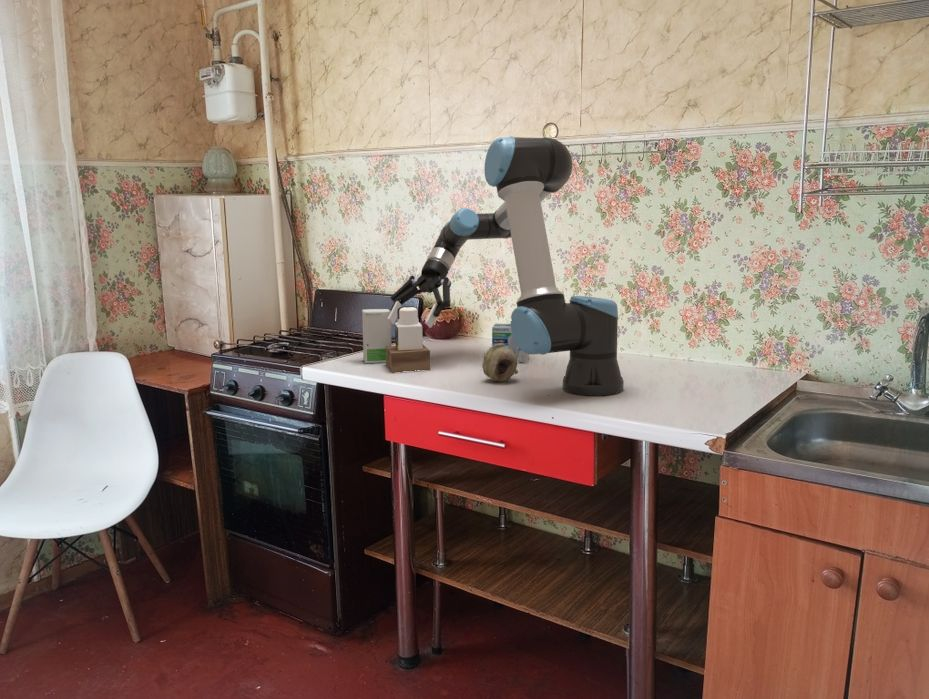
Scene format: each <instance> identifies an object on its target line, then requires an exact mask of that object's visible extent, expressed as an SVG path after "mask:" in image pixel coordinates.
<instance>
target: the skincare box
mask: <svg viewBox="0 0 929 699" xmlns="http://www.w3.org/2000/svg"><path fill="white" fill-rule="evenodd" d="M361 313H362V315H361V316H362V350H363V351H362V355H363V356H362V357H363V361H364V363H365V364H382V363H384V364H385V363H386V347H385V346H392V324H391V323H390V321H389V320H388V319H387V318H388V316H389V315H390V313H391V309H390V310H389V309H388V308H380V309H379V308H374V309H373V308H370V309H361Z"/></svg>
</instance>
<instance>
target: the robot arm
mask: <svg viewBox="0 0 929 699" xmlns="http://www.w3.org/2000/svg"><path fill="white" fill-rule="evenodd" d="M573 166H574V164H573V158H572V155H571V152H570V151H569V149H568V148H567V146H566V145H565V144H563V142H561V141H559V140H558V139H555V138H552V137H525V136H524V137H519V136H517V137H516V136H515V137H514V136H508V137H506V136H505V137H498V138H496V139H495V140H493V141H492V142H491V144H490V145H489V146H488V150H487V152H486V156H485V160H484V178H485V181H486V183H487V184H488V185H489V186H491V187H493V188H494V187H495V188H496V191H497V192H496V193H497V197H498V198H499V199H501V200H502V201H504V202H503V203H502V204H501V205H500V206H499V207H498V208H497V210H495V211H494V212H491V213H490V212H489V213H477V212H476V211H475V210H472V209H470V208H468V207H467V208H466V207H464V208H460V209H458V210H457V211H456V213H454V214H453V215H452V216H451V217H450V220H449V221H448V222H446V223H445V224H444V226H443V227H442V229H441V230H440V233H439V235H438V237H437V239H436V241H435V243H434V245H433V247H432V249H431V251H430V253H429V255H428V256H427V259H426V261H425V263H424V264H423V266H422V269H421V273H420V276H419V277H415V276H414V275H411V276H410V277H408V280H407V281H406V282H405V283H404V284H402V286H401V287H399V289H398V290H396V291H395V292H394V293H393V294H392V295H391V296H390V299H391V301H392V303H393V304H392V306H391V308H390V311H391V313H390V315H389V316H388V318H387V319H388V320H389V321H390V323H391V325H395V323H396V321H397V320H398V314H397V310H398V308H400V307H404V306H403V305H404V304H405V303H406V302H408V301H409V300H412V298H414V297H415V296H416V295H421V293H429V294H431V293H433V296H434V299H435V303H433V306H432V308H431V310H430V311H429V313H428V316H427V317H426V319H425V322H424V323H425V324H426V325H427V327H428V328H430V329H431V328H433V325H434V323H435V321H436V320H437V318H438V317H440V315H441V312H442V311H443V310H444V308H447V309H448V308H450V307H451V289H450V288H451V285H452V282H451V281H450V279H449V277H448V275H449V271H450V270H451V268H452V266H453V263H454V261H455V260H456V258H457V255H458V253H459V252H460V250H461V248H462V247H463V246H464V244H465V243H466V242H467V241H469V240H486V239H487V240H488V239H490V240H493V239H494V240H495V239H496V240H497V239H506V240H507V239H510V238H511V243H512V248H513V249H512V250H513V254H514V260H515V265H516V273H517V276H518V278H517V279H518V282H519V288H520V293H521V294H520V296H519V298H518V299H517V300H516V308H514V310H513V311H512V313H511V315H510V324H511V331H512V335H513V337H514V340H515V342H516V344H517V345H518V347H519V348H521V350H522V351H523V352H525V353H527V354H529V355H548V354H551V353H553V354H554V353H561V352H568V351H569V360H568V363H567V366H566V370H565V373H564V374H565V375H563V377H562V389H563V390H564V391H565V392H568V393H570V394H571V393H572V394H575V395H581V396H608V395H610V396H611V395H615V394H619V393H621V392H622V391H624V381H625V380H624V378H623V376H622V374H621V373H622V372H621V370H620V365H619V361H618V328H619V327H618V324H619V323H618V322H619V321H618V320H619V319H620V318H619V312H618V311H619V310H618V304H617V302H616V301H615V300H612V299H608V298H601V297H593V296H585V295H584V296H583V295H571V296H570V299H569V302H566V300H565V294H564V292H562V291H560V290H559V289H558V288H557V284H556V279H555V274H554V273H555V272H554V267H553V264H552V263H553V262H552V258H551V256H552V255H551V252H550V246H549V245H550V244H549V240H548V235H547V230H546V224H545V218H544V212H543V206H542V202H543V201H544V200H545V199H547V197H548V196H549V195H551V194H553V193H557V192H558V191H560V190H561V189H562V188H563V187H564V186H565V184H566V183H567V182H568V181H569V179H570V178H571V175H572V172H573ZM441 286H442V297H441V294H440V291H439V288H440V287H441Z"/></svg>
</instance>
